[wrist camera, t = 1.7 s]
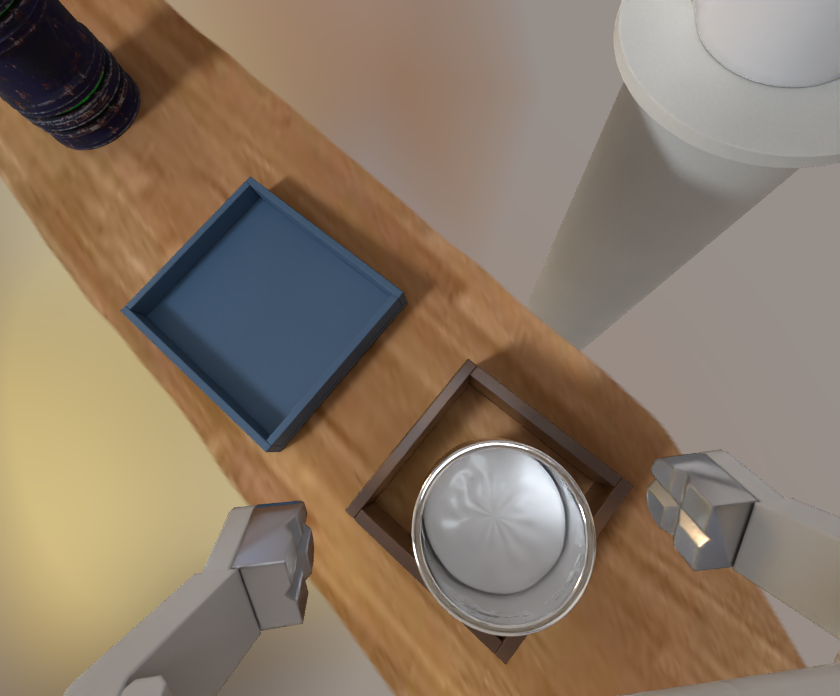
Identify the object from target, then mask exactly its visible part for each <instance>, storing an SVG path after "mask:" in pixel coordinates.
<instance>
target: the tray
mask: <svg viewBox="0 0 840 696" xmlns="http://www.w3.org/2000/svg"><path fill="white" fill-rule="evenodd" d="M406 304H407V301H406V298H405V295H404V293H403V291H401V290H400V289H399V288H397V287H396V286H395V285H393V284H392V283H391V282H389V281H388V280H387V279H385V278H384V277H383V276H381V275H380V274H379V273H377V272H376V271H375V270H373V269H372V268H371V267H369V266H368V265H367V264H365V263H364V262H363V261H362V260H360V259H359V258H358V257H356V256H355V255H354V254H352V253H351V252H350V251H348V250H347V249H346V248H344V247H343V246H342V245H340V244H339V243H338V242H336V241H335V240H334V239H332V238H331V237H330V236H328V235H327V234H326V233H324V232H323V231H322V230H321V229H319V228H318V227H317V226H315V225H314V224H313V223H311V222H310V221H309V220H307V219H306V218H305V217H303V216H302V215H301V214H299V213H298V212H297V211H295V210H294V209H293V208H291V207H290V206H289V205H287V204H286V203H285V202H283V201H282V200H281V199H279V198H278V197H277V196H276V195H274V194H273V193H272V192H270V191H269V190H268V189H266V188H265V187H264V186H262V185H261V184H260V183H258V182H257V181H256V180H254V179H253V178H252V177H249V178H248V179H247V180H246V182H244V183H243V184H242V185H241V187H240V188H239V189H238V190H237V191H236V192H235V193H234V194H233V195H232V196H231V197H230V198H229V199H228V200H227V201H226V202H225V203H224V204H223V205H222V206H221V207H220V208H219V209H218V210H217V211H216V212H215V213H214V214H213V216H212V217H211V218H210V219H209V220H208V221H207V222H206V223H205V224H204V225H203V226H202V227H201V228H200V229H199V230H198V231H197V232H196V233H195V234H194V235H193V236H192V237H191V238H190V239H189V240H188V241H187V242H186V243H185V245H184V246H183V247H182V248H181V249H180V250H179V251H178V252H177V253H176V254H175V255H174V256H173V257H172V258H171V259H170V260H169V261H168V262H167V263H166V264H165V265H164V266H163V267H162V268H161V269H160V270H159V271H158V273H157V274H156V275H155V276H154V277H153V278H152V279H151V280H150V281H149V282H148V283H147V284H146V285H145V286H144V287H143V288H142V289H141V290H140V291H139V292H138V293H137V294H136V295H135V296H134V297H133V298H132V299H131V300H130V302H129V303H128V304H127V305H126V306H125V307H124V308H123V309H122V310H121V312H122V313H123V314H124V315H125V316H126V317H127V318H128V319H129V320H130V321H131V322H132V323H133V324H134V325H135V326H136V327H137V328H138V329H139V330H141V331H142V332H143V333H144V334H145V335H146V336H147V337H148V338H149V339H150V340H151V341H152V342H153V343H154V344H155V345H156V346H157V347H158V348H159V349H160V350H161V351H162V352H163V353H164V354H165V355H166V356H167V357H168V358H169V359H170V360H171V361H172V362H173V363H174V364H176V365H177V366H178V367H179V368H180V369H181V370H182V371H183V372H184V373H185V374H186V375H187V376H188V377H189V378H190V379H191V380H192V381H193V382H194V383H195V384H196V385H197V386H198V387H199V388H200V389H201V390H202V391H203V392H204V393H205V394H206V395H207V396H208V397H209V398H211V399H212V400H213V401H214V402H215V403H216V404H217V405H218V406H219V407H220V408H221V409H222V410H223V411H224V412H225V413H226V414H227V415H228V416H229V417H230V418H231V419H232V420H233V421H234V422H235V423H236V424H237V425H238V426H239V427H240V428H241V429H242V430H243V431H244V432H246V433H247V434H248V435H249V436H250V437H251V438H252V439H253V440H254V441H255V442H256V443H257V444H258V445H259V446H260V447H261V448H262V449H263V450H264V451H265V452H281V450H282V449H283V448H284V447H285V446H286V445H287V443H288V442H289V441H290V440H291V439H292V437H293V436H294V435H295V434H296V433H297V432H298V430H299V429H300V428H301V427H302V426H303V425H304V423H305V422H306V421H307V420H308V419H309V418H310V416H311V415H312V414H313V413H314V412H315V411H316V409H317V408H318V407H319V406H320V405H321V404H322V402H323V401H324V400H325V399H326V398H327V397H328V395H329V394H330V393H331V392H332V391H333V390H334V388H335V387H336V386H337V385H338V384H339V382H340V381H341V380H342V379H343V378H344V377H345V375H346V374H347V373H348V372H349V371H350V370H351V368H352V367H353V366H354V365H355V364H356V363H357V361H358V360H359V359H360V358H361V357H362V356H363V354H364V353H365V352H366V351H367V350H368V349H369V347H370V346H371V345H372V344H373V343H374V342H375V340H376V339H377V338H378V337H379V336H380V335H381V333H382V332H383V331H384V330H385V329H386V327H387V326H388V325H389V324H390V323H391V322H392V320H393V319H394V318H395V317H396V316H397V315H398V313H399V312H400V311H401V310H402V309H403V308H404V306H405V305H406Z"/></svg>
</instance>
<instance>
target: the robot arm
mask: <svg viewBox="0 0 840 696" xmlns="http://www.w3.org/2000/svg"><path fill="white" fill-rule="evenodd" d="M691 2H692V3H693V4H694V7H695V14H696V26H697V30H698V34H699V36H700V39H701V41H702V43H703V44H704V46H705V47H706V49H707V50H708V52H709V53H710V54H711V55H712V56H713V57H714V58H715V59H716V60H717V61H718V62H719V63H721V64H722V65H723V66H724V67H726V68H727V69H729V70H731V71H732V72H734V73H736V74H738V75H740V76H742V77H744V78H747V79H749V80H752V81H755V82H758V83H762V84H766V85H771V86H778V87H792V88H794V87H809V86H816V85H821V84H825V83H828V82H831V81H834V80H837V79H840V0H691ZM651 473H652V474H653V475H654V477H655V478H656V479H655V480H654V481H653V482H652V483H651V484H650V485H649V486H648V491H647V498H646V499H647V503H648V508H649V511H650V513H651V515H652V517H653V519H654V521H655V522H656V523H657V525H658V526H659V527H660V529H662V530H664V531H666V532H668V533H669V534H671V535H673V545H674V547H675V548H676V549H677V550H678V552H679V553H680V554H681V555H682V557H683V558H684V559H685V560H686V562H687V563H688V564H689V566H690V567H691V568H692V569H693V571H700V570H709V569H719V568H728V567H733V570H735V571H736V572H738V573H739V574H741V575H742V576H744V577H745V578H747V579H748V580H750V581H751V582H753V583H754V584H756V585H757V586H759V587H760V588H762V589H763V590H765V591H766V592H768V593H770V594H771V595H773V596H774V597H776V598H777V599H778V600H780V601H781V602H783V603H785V604H786V605H787V606H789V607H790V608H792V609H794V610H795V611H797V612H798V613H800V614H801V615H803V616H804V617H806V618H807V619H809V620H810V621H812V622H813V623H815V624H816V625H818V626H819V627H821V628H822V629H824V630H825V631H827V632H828V633H830V634H831V635H833V636H834V637H836V638H837V639H839V640H840V517H838V516H836V515H833V514H831V513H829V512H826V511H824V510H821V509H819V508H816V507H814V506H811V505H809V504H806V503H804V502H801V501H798V500H796V499H793V498H789V499H785V498H784V497H783V496H782V495H780V494H779V493H778V492H777V491H775V490H774V489H772V487H770V486H769V485H768V484H767V483H765V482H764V481H763V480H762V479H760V478H759V477H758V476H757V475H756V474H754V473H753V472H752V471H751V470H749V469H748V468H747V467H746V466H744V465H743V464H742V463H740V462H739V461H738V460H737V459H736V458H735V457H733V456H732V455H731V454H729V453H728V452H726V451H723V450H713V451H706V452H699V453H693V454H685V455H677V456H669V457H661V458H657V459H656V460H655V461H654V462H653V465H652V469H651ZM306 518H307V511H306V507H305V504H304V502H303V501H292V502H282V503H271V504H261V505H257V506H245V507H235V508H233V509H232V510H231V511H230V512H229V513H228V516H227V518H226V520H225V522H224V525H223V527H222V529H221V531H220V534H219V536H218V538H217V540H216V542H215V545H214V547H213V550H212V552H211V554H210V556H209V558H208V561H207V563H206V565H205V567H204V569H203V572H202V573H198V574H194V575H193V576H192V577H191V578H190V579H188V580H187V581H186V582H185V583H184V584H183V585H182V586H180V587H179V588H178V589H177V590H176V591H175V592H174V593H173V594H171V595H170V596H169V597H168V598H167V599H166V600H165V601H163V602H162V603H161V604H160V605H159V606H158V607H157V608H156V609H154V610H153V611H152V612H151V613H150V614H149V615H148V616H147V617H146V618H144V619H143V620H142V621H141V622H140V623H139V624H138V625H136V626H135V627H134V628H133V629H132V630H131V631H130V632H129V633H127V634H126V635H125V636H124V637H123V638H122V639H121V640H120V641H118V642H117V643H116V644H115V645H114V646H113V647H112V648H111V649H109V650H108V651H107V652H106V653H105V654H104V655H103V656H102V657H100V658H99V659H98V660H97V661H96V662H95V663H94V664H92V665H91V666H90V667H89V668H88V669H87V670H86V671H85V672H84V673H82V674H81V675H80V676H79V677H78V678H77V679H76V680H74V681H73V682H72V683H71V684H70V685H69V686H68V688H67V689H66V691H65V693H64V694H63V696H217V694H218V693H219V691H220V690H221V689H222V687H223V686H224V684H225V683H226V682H227V680H228V679H229V677H230V676H231V675H232V673H233V672H234V670H235V669H236V668H237V666H238V665H239V663H240V662H241V661H242V659H243V658H244V656H245V655H246V653H247V652H248V651H249V649H250V648H251V647H252V645H253V644H254V643H255V641H256V640H257V638H258V637H259V636H260V634H261V632H260V631H262V630H268V629H274V628H280V627H286V626H292V625H299V624H303V620H304V615H305V609H306V603H307V597H308V589H307V585H306V582H305V580H306V579H307V578H308V577H309V576H310V575H311V574H312V568H313V561H314V543H313V535H312V531H311V528H310V527H309V526H307V525H306V524H305V523H306ZM619 696H840V650H839V652H838V654H837V656H836V657H835V662H834V663H833V664H827V665H820V666H814V667H807V668H800V669H794V670H787V671H780V672H773V673H767V674H760V675H753V676H747V677H740V678H733V679H727V680H720V681H713V682H706V683H700V684H693V685H686V686H680V687H673V688H666V689H660V690H653V691H646V692H639V693H633V694H626V695H619Z"/></svg>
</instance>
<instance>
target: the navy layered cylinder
mask: <svg viewBox="0 0 840 696" xmlns="http://www.w3.org/2000/svg"><path fill="white" fill-rule="evenodd" d="M0 97H1V98H2V99H3V100H4V101H6V102H7V103H8V104H9V105H10V106H11V107H13V108H14V109H16V110H17V111H18V112H19V113H20V114H21V115H22V116H24V117H25V118H26V119H28V120H29V121H30V122H32V123H33V124H34V125H36V126H38V127H39V128H42V129H43V130H44V131H46V132H47V133H49V134H51V135H52V136H53V137H54V138H55V139H56V140H57V141H59V142H60V143H61V144H63V145H64V146H66V147H69V148H71V149H76V150H89V149H94V148H98V147H101V146H103V145H106V144H108V143H110V142H112V141H113V140H115V139H116V138H118V137H119V136H120V135H121V134H122V133H123V132H125V131H126V130H127V128H128V127H129V126H130V125H131V123H132V122H133V120H134V119H135V117H136V115H137V112H138V109H139V106H140V92H139V89H138V86H137V85H136V83H135V82H134V80H133V79H132V78H131V77H130V76H129V75H128V74H127V73H126V72H125V71H124V70H123V68H122V67H121V66H120V65H119V63H118V62H117V61H116V59H115V57H114V56H113V55H112V54H111V53H110V52H109V50H108V49H107V48H106V47H105V46H104V45H103V44H102V43H101V42H99V41H98V40H97V38H96V37H95V36H94V35H93V33H91V32H90V31H89V29H88V28H87V27H86V26H84V25H83V24H82V23H80V22H78V21H77V20H76V19H75V18H74V17H73V16H72V15H71V14H70V13H69V11H68V10H67V9H66V8H65V7H64V6H63V5H62V4H61V2H60V1H59V0H0Z"/></svg>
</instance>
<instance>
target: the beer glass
mask: <svg viewBox="0 0 840 696" xmlns="http://www.w3.org/2000/svg"><path fill="white" fill-rule="evenodd" d="M412 546H413V552H414V556H415V560H416V564H417V567H418V569H419V572H420V574H421V577H422V579H423V581H424V583H425V584H426V586H427V588H428V589H429V591H430V592H431V594H432V595H433V597H434V598H435V599H436V600H437V602H438V603H439V604H440V605H441V606H442V607H443V608H444V609H445V610H446V611H447V612H448V613H449V614H451V615H452V616H453V617H454V618H456V619H457V620H459V621H460V622H462V623H464V624H465V625H467V626H469V627H471V628H473V629H476V630H478V631H481V632H484V633H487V634H492V635H497V636H523V635H528V634H532V633H536V632H539V631H541V630H544V629H546V628H548V627H550V626H552V625H553V624H555V623H557V622H558V621H559V620H561V619H562V618H563V617H565V616H566V615H567V614H568V613H569V612H570V611H571V610H572V609H573V608H574V606H575V605H576V604H577V603H578V601H579V600H580V598H581V597H582V595H583V594H584V592H585V590H586V588H587V586H588V583H589V581H590V578H591V575H592V572H593V568H594V564H595V557H596V533H595V526H594V521H593V517H592V514H591V510H590V508H589V505H588V503H587V500H586V498H585V496H584V494H583V492H582V491H581V489H580V487H579V486H578V484H577V483H576V481H575V480H574V479H573V477H572V476H571V475H570V474H569V473H568V472H567V471H566V470H565V469H564V468H563V467H562V466H561V465H560V464H559V463H558V462H557V461H555V460H554V459H553V458H551V457H550V456H548V455H547V454H545V453H544V452H542V451H540V450H538V449H536V448H534V447H531V446H529V445H526V444H523V443H521V442H518V441H515V440H511V439H506V438H497V437H485V438H478V439H473V440H469V441H466V442H464V443H461V444H459V445H457V446H455V447H454V448H452V449H451V450H449V451H448V452H446V453H445V454H444V455H443V456H442V457H441V458H440V459H439V460H438V461H437V462H436V463H435V464H434V466H433V467H432V468H431V470H430V471H429V473H428V474H427V476H426V478H425V480H424V482H423V484H422V486H421V489H420V492H419V495H418V497H417V500H416V504H415V507H414V512H413V518H412Z"/></svg>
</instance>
